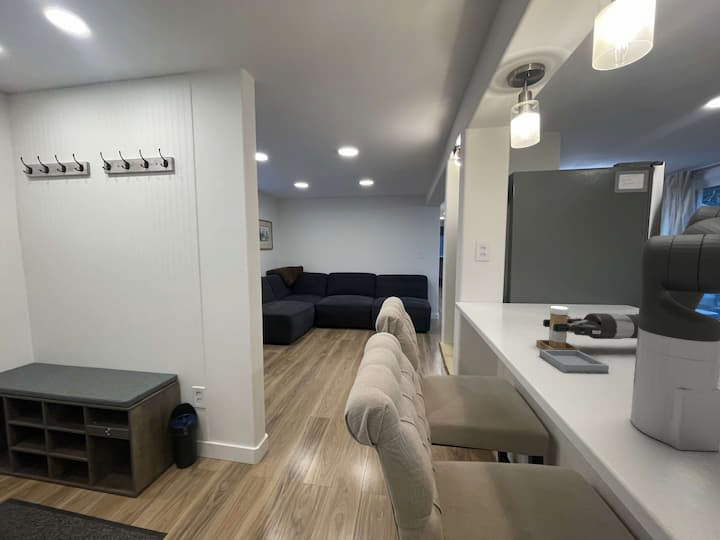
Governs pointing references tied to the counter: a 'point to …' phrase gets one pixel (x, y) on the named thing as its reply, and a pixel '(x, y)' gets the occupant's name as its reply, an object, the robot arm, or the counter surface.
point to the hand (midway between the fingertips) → (549, 325)
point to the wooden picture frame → (545, 346)
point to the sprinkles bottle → (557, 317)
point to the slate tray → (573, 361)
